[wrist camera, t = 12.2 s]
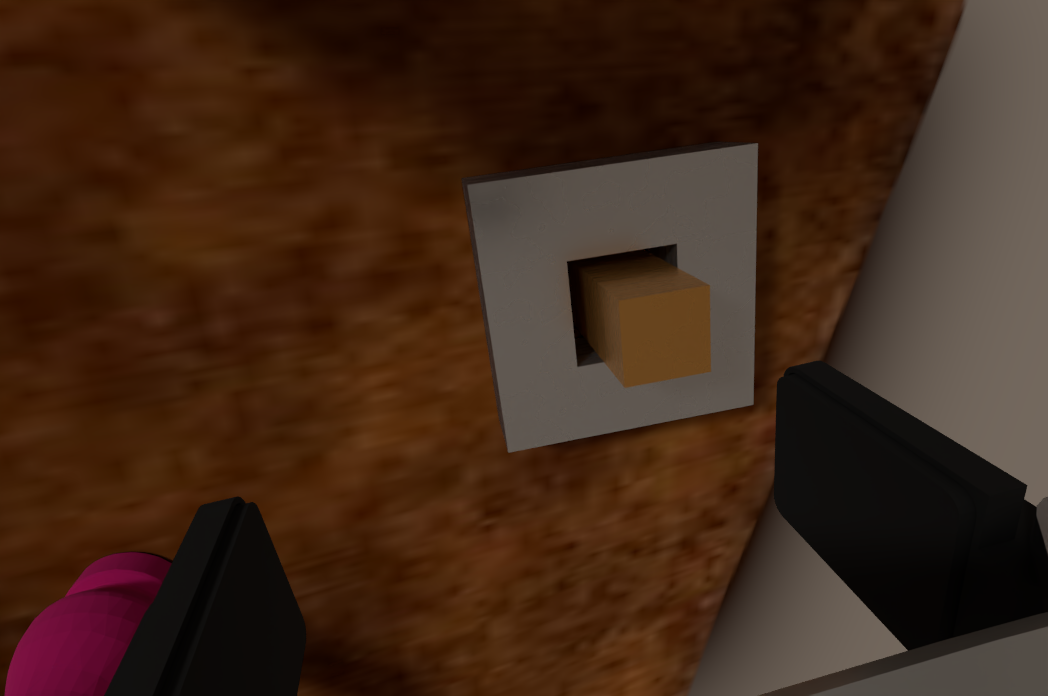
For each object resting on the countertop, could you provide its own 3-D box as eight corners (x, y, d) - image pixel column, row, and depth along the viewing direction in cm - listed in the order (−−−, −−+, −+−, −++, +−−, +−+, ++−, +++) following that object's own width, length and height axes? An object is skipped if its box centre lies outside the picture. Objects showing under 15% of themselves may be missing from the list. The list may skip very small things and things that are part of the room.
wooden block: (567, 257, 33) (618, 300, 25) (637, 246, 34) (709, 285, 25) (574, 325, 35) (624, 387, 26) (641, 313, 35) (711, 371, 27)
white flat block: (461, 178, 31) (467, 184, 27) (718, 141, 32) (757, 143, 29) (498, 419, 36) (508, 452, 32) (720, 377, 37) (753, 404, 34)
